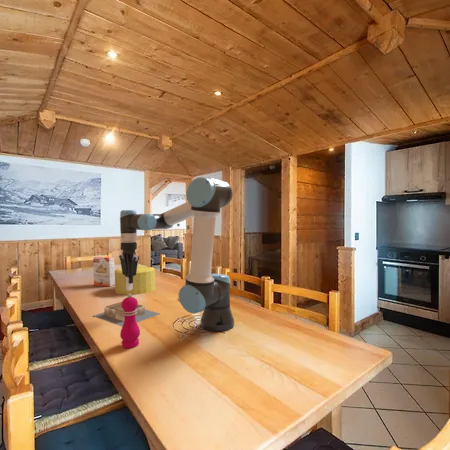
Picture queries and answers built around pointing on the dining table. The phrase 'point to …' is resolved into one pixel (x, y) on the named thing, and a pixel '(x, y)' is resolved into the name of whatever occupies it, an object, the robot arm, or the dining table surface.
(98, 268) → the cracker box
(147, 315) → the mat
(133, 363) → the dining table surface
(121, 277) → the cheese
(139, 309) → the brown wooden block
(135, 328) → the pepper mill
